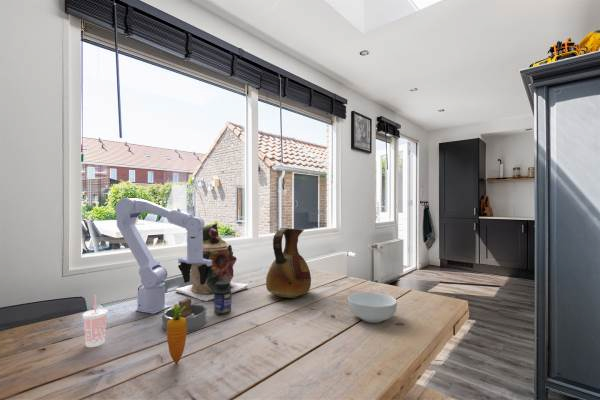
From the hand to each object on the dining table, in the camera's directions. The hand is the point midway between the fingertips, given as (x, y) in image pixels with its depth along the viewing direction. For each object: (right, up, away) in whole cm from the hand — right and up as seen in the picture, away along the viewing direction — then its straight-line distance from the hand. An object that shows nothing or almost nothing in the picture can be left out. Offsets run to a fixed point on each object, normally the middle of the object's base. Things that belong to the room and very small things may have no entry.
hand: (194, 283), depth 115 cm
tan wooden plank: (+1, -9, -13) cm, 16 cm away
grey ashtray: (+1, -10, -13) cm, 17 cm away
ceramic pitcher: (+36, -10, +18) cm, 41 cm away
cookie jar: (0, -10, +24) cm, 26 cm away
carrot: (+9, -10, -39) cm, 41 cm away
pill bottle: (+12, -10, -3) cm, 16 cm away
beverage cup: (-19, -10, -28) cm, 35 cm away
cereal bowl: (+66, -10, -9) cm, 67 cm away
